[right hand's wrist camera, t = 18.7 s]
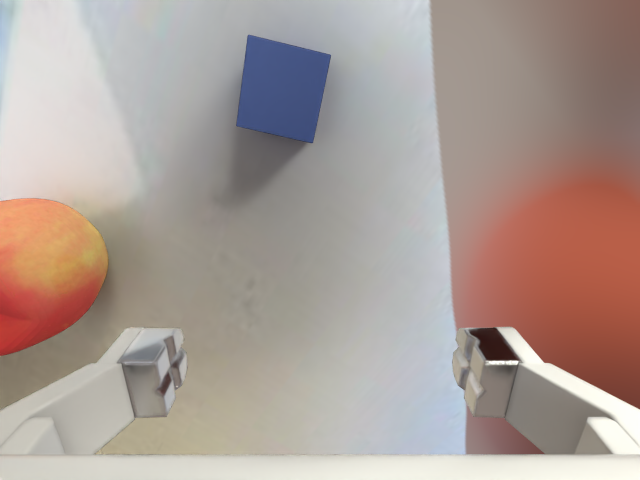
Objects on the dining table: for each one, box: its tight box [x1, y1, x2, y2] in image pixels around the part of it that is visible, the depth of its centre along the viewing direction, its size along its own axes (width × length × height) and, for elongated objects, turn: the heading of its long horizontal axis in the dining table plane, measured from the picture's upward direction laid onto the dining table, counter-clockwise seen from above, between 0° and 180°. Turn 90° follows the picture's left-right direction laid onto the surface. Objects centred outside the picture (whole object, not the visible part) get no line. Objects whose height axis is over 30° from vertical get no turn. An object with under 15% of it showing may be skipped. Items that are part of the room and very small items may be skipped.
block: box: [236, 35, 331, 143], centre depth 23 cm, size 5×5×4 cm
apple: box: [0, 198, 108, 356], centre depth 24 cm, size 10×10×10 cm
